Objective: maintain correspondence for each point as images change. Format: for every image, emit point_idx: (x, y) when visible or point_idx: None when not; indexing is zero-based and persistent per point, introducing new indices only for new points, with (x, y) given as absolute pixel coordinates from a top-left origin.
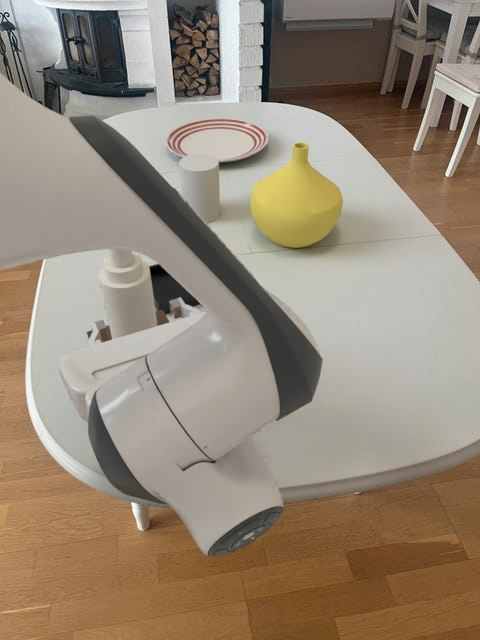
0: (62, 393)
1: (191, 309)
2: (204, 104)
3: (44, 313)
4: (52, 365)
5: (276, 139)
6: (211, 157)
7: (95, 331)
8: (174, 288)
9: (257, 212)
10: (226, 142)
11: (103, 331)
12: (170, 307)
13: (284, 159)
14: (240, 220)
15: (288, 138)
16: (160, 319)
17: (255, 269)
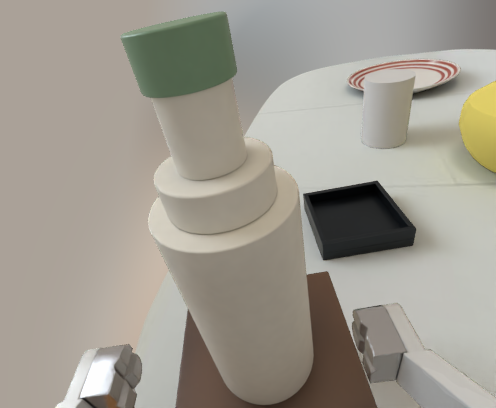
0: (164, 366)
1: (465, 396)
2: (383, 57)
3: None
4: (172, 311)
5: (465, 73)
6: (405, 71)
7: (66, 404)
8: (347, 223)
9: (478, 127)
10: None
11: (103, 401)
12: (355, 329)
13: None
14: (434, 146)
15: (480, 71)
16: (321, 293)
17: (468, 207)
